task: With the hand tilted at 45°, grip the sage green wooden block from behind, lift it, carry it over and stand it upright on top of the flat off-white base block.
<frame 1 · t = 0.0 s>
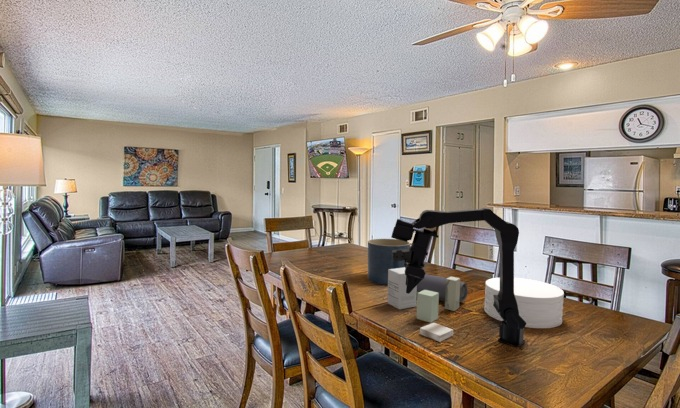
hand: (407, 289, 127), 15 cm above the table, tool pointing down, fingers open, 9 cm apart
supplement box: (401, 305, 157), on the table
green block: (427, 318, 142), on the table
box: (451, 309, 153), on the table
plate stack: (521, 315, 149), on the table
bluetooth speaker: (438, 299, 166), on the table
base block: (436, 335, 127), on the table
planter: (387, 280, 196), on the table
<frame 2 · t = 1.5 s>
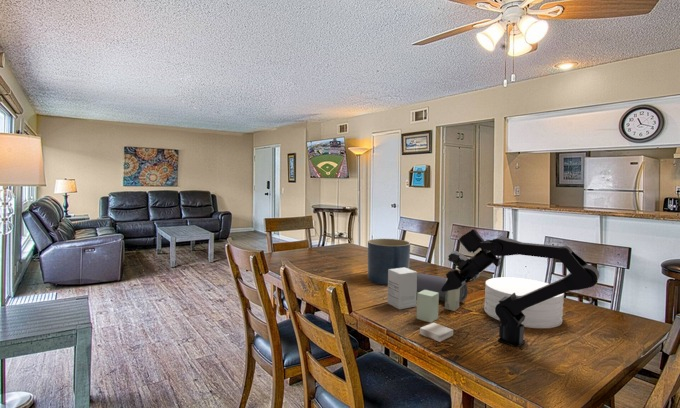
hand: (447, 287, 136), 13 cm above the table, tool tilted 45°, fingers open, 9 cm apart
nothing on the table moved.
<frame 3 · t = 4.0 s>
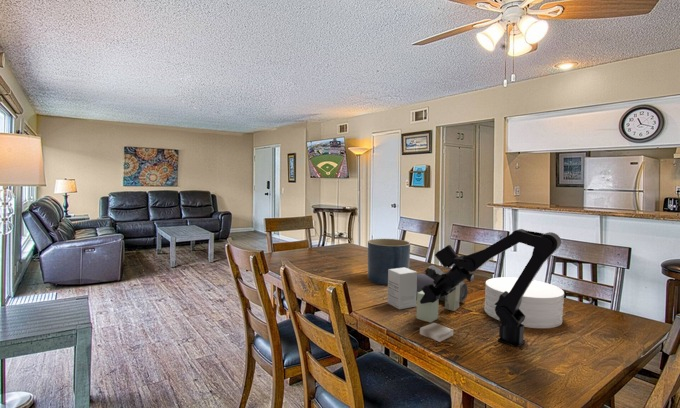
hand: (424, 300, 143), 7 cm above the table, tool tilted 45°, fingers closed on green block, 6 cm apart
green block: (427, 318, 142), on the table, touching gripper
everything else where it was.
when the fingers open (10 cm above the table, at t = 8.5 s): green block drops 1 cm, point 2 cm above the table.
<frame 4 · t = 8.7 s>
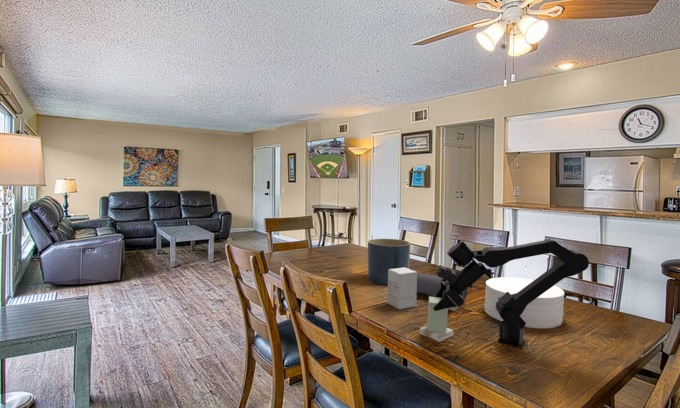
hand: (433, 305, 127), 10 cm above the table, tool tilted 45°, fingers open, 8 cm apart
green block: (436, 328, 127), point 2 cm above the table
everything else where it was.
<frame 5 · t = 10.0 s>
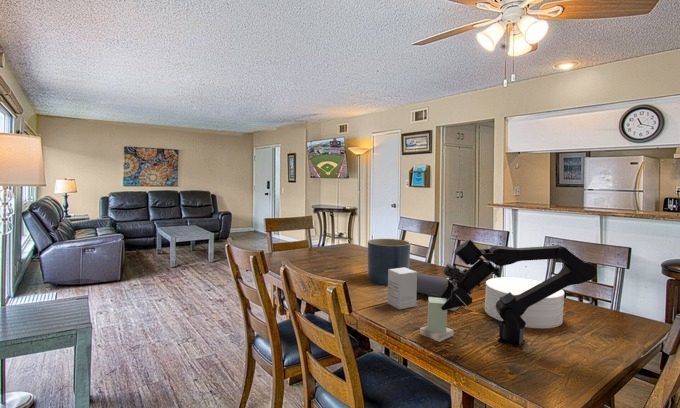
hand: (440, 304, 126), 11 cm above the table, tool tilted 45°, fingers open, 9 cm apart
green block: (436, 328, 127), point 2 cm above the table, touching base block
base block: (436, 336, 127), on the table, touching green block
everything else where it was.
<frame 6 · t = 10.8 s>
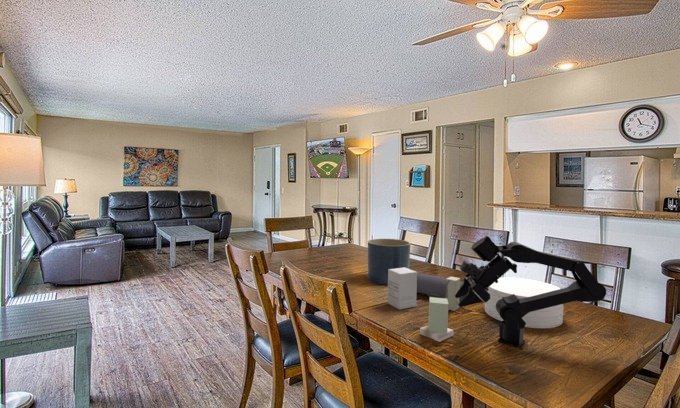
hand: (457, 301, 125), 12 cm above the table, tool tilted 45°, fingers open, 9 cm apart
green block: (437, 329, 127), point 2 cm above the table
base block: (436, 336, 127), on the table
everything else where it was.
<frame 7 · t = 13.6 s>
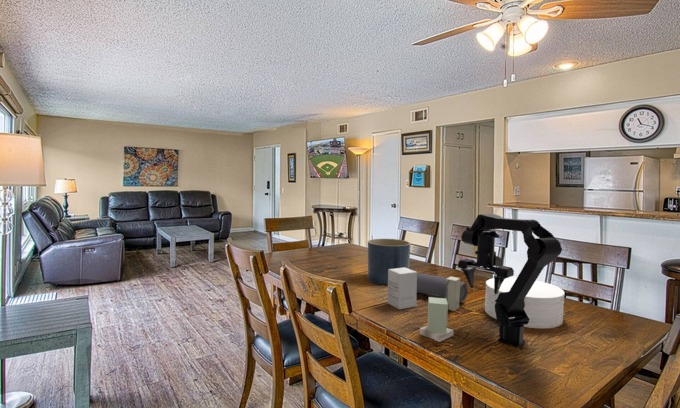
hand: (483, 290, 135), 13 cm above the table, tool pointing down, fingers open, 9 cm apart
green block: (436, 329, 127), point 2 cm above the table, touching base block
base block: (436, 336, 127), on the table, touching green block
everything else where it was.
at the end: green block 0.1 cm off-centre on the base block, point 2.6 cm above the base block's base; green block tilted 1°; the gripper is holding nothing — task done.
